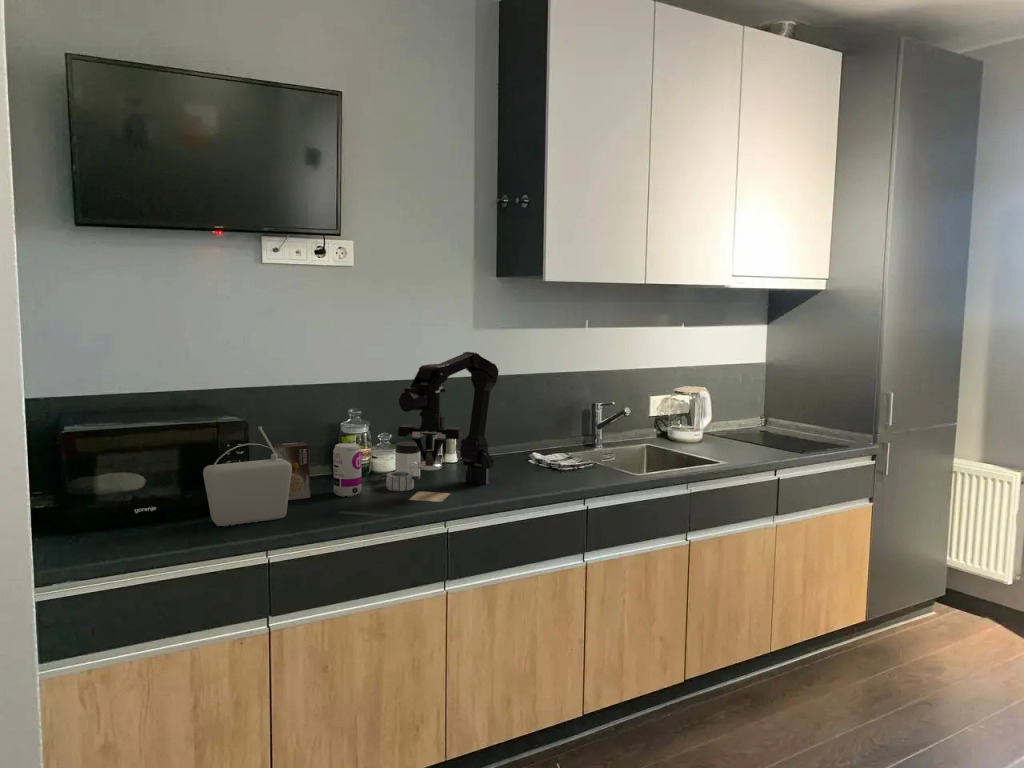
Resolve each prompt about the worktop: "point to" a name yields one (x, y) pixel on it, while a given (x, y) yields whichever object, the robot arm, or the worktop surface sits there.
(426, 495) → the plate
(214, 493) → the radio
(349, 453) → the supplement can
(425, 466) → the lid
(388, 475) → the pot
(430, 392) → the robot arm
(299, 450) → the coffee box
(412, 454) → the jar
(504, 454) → the worktop surface
